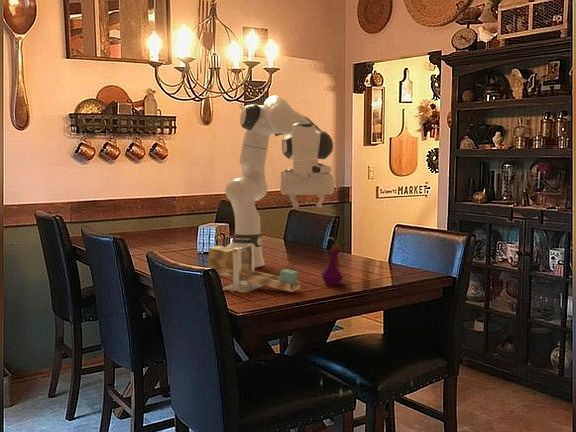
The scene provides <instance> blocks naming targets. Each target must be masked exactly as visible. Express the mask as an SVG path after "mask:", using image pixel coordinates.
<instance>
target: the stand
mask: <svg viewBox="0 0 576 432" xmlns="http://www.w3.org/2000/svg"><path fill="white" fill-rule="evenodd" d="M245 250H249V251H250V259H249V270H253V271H255V267H254V245H246V247H243V248H233V278H232V281H233V283H231V284H229V285H226V286H222V289H223V288H224V290H223V291H225V290H230V291H229V292H234V291H238V292H237V293H244V292H245V293H246V294H247V293H249V292H251V291H254V290H257V289H260V288H262V287H266V286H265V285H261V284H256V283H252V282H248V281H244V280H242V273H241V251H245ZM245 293H244V294H245Z"/></svg>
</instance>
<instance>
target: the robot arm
mask: <svg viewBox="0 0 576 432" xmlns="http://www.w3.org/2000/svg"><path fill="white" fill-rule="evenodd" d="M239 119H240V120H239V121H240V126H241V127H242V128H243V129H245V133H244V135H243V139H242V144H241V151H240V156H239V164H240V165H241V171H242V174H241V175H242V176H241V177H237V178H234V179H232V180H230V181H229V182H228V183H227V184H226V186H225V196H226V198H227V199H228V200H229V201H230V204H231V207H232V210H233V215H234V225H235V226H234V232H235V233H233V234H232V235H231V236H230V239H231V242H230V243H229V244H228V245H226V247H228V248H232V249H233V248H243V247H246V245H254V268H259V267H260V268H261V267H263V266H265V264H266V263H265V262H264V257H263V251H262V243H263V241H262V240H263V239H262V237H263V236H262V233H261V216H260V213H259V212H258V211H257V210H258V209H257V208H256V207H257V206H256V203H255V202H257V201H259V200H261V199H262V198H264V197H265V196H267V193H268V190H269V187H268V183H267V181H266V175H265V174H266V173H265V168H266V167H265V166H266V160H267V153H268V149H269V139H270V136H271V135H274V136H275V137H278V136H282V135H283V136H284V135H285V136H284V137H283V138H282V140H281V151H282V152H281V153H282V154H283V155H284V156H285V158H286V159H289V160H293V161H292V164H293V167H292V168H289V169H288V168H285V169H283V170H282V171H281V172H280V194H281V195H282V196H289V199H290V201H291V203H292V208H296V209H297V208H299V207H300V203H299V202H298V201H297V199H296V198H297V196H305V195H306V196H309V195H310V196H313V195H315V196H316V195H317V197H318V198H319V199H318V202H315V208H317V209H319V208H320V209H321V208H322V207H323V202H324V200H325V197H326V196H325V195H332V194H333V193H335V184H334V183H335V182H334V177H333V175H332V174H331V172H332V167H331V166H329V165H326V164H324V163H320V162H319V160H326V159H327V158H328V157H329V156H330V155H331V154H332V152H333V149H334V142H333V139H332V137H331V136H330V135H329V134H328V133H327V131H324V130H321V128H319V127H318V126H317V125H316V124H315V123H314V121H312V120H311V119H310V118H309V117H307V116H305V115H303V114H301V113H299V112H298V111H296V110H295V109H293V108H292V107H291V105H290V104H289V103H288V102H287V100H285V98H282V97H281V96H278V95H271V96H269V97H268V98H266V99H265V101H264V102H263V105H259V104H258V103H253V104H247V105H245V106H244V107H243V108H242V110H241V112H240V115H239Z"/></svg>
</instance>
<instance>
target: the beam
mask: <svg viewBox="0 0 576 432" xmlns="http://www.w3.org/2000/svg"><path fill="white" fill-rule="evenodd" d="M249 259H250V251H249V250H245V251H241V273H242V281H248V282H252V283H256V284H261V285H265V286H264V287H269V288H274V289H276V290H282V291H287V292H290V293H293V292H295V291H298V290H300V289H301V280H297V282H295V283H293V284H290V283H286V282H281V281H279V278H280V275H279V276H278V275H274V274H269V273H265V272H261V271H257V270H254V271H253V270H249ZM208 268H214V269H215V270H216V271H217V272H218V273H219V274H218V275H220V276H224V277H227V278H231V279H233V249H232V248H228V247H227V246H222V245H215V246H211V247H209V248H208V259H207V269H208Z"/></svg>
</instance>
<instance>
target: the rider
mask: <svg viewBox="0 0 576 432" xmlns="http://www.w3.org/2000/svg"><path fill="white" fill-rule="evenodd" d="M298 274H299V273H298V271H296V270H291V269H287V268H285V269H282V270H280V271H279V277H280V278H279V281H281V282H286V283H290V284H293V283H295V282H297V281H298Z"/></svg>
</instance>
